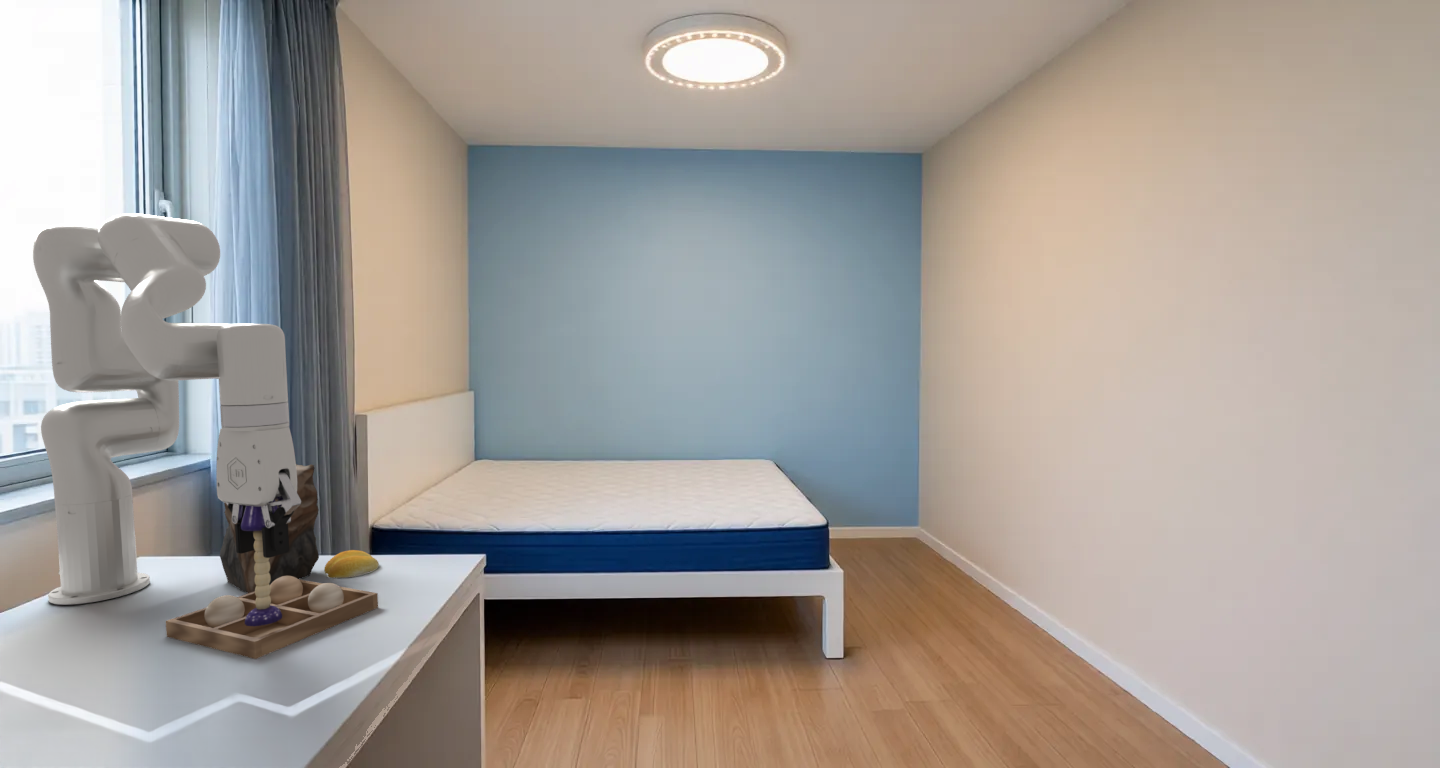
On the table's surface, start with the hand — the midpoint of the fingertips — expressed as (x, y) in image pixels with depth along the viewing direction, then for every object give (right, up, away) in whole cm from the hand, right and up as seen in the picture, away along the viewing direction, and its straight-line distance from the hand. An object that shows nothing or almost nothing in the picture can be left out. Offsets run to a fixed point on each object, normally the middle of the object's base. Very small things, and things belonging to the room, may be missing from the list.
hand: (263, 551), depth 94 cm
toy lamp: (0, -10, +1) cm, 10 cm away
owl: (-15, -12, +24) cm, 31 cm away
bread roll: (-4, -11, +30) cm, 32 cm away
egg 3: (+4, -11, +9) cm, 15 cm away
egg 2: (-4, -11, +12) cm, 17 cm away
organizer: (-2, -12, +7) cm, 14 cm away
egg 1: (-8, -12, +4) cm, 15 cm away
